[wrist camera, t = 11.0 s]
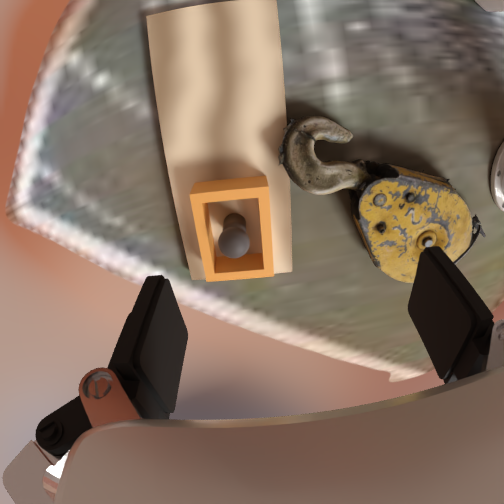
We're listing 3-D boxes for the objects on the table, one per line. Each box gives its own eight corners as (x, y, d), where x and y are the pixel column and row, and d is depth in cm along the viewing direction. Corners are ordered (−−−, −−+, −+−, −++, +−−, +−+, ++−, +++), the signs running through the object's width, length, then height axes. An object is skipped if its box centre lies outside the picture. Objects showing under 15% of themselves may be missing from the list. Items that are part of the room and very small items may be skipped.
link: (266, 175, 30) (268, 186, 27) (271, 259, 35) (274, 276, 32) (194, 182, 30) (189, 194, 27) (209, 264, 35) (206, 281, 32)
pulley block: (340, 71, 20) (500, 245, 29) (327, 65, 24) (481, 219, 33) (243, 197, 28) (426, 309, 37) (247, 170, 32) (414, 280, 41)
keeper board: (274, 2, 21) (283, -19, 15) (290, 264, 37) (299, 302, 31) (150, 18, 21) (126, 4, 16) (193, 272, 37) (185, 311, 32)
